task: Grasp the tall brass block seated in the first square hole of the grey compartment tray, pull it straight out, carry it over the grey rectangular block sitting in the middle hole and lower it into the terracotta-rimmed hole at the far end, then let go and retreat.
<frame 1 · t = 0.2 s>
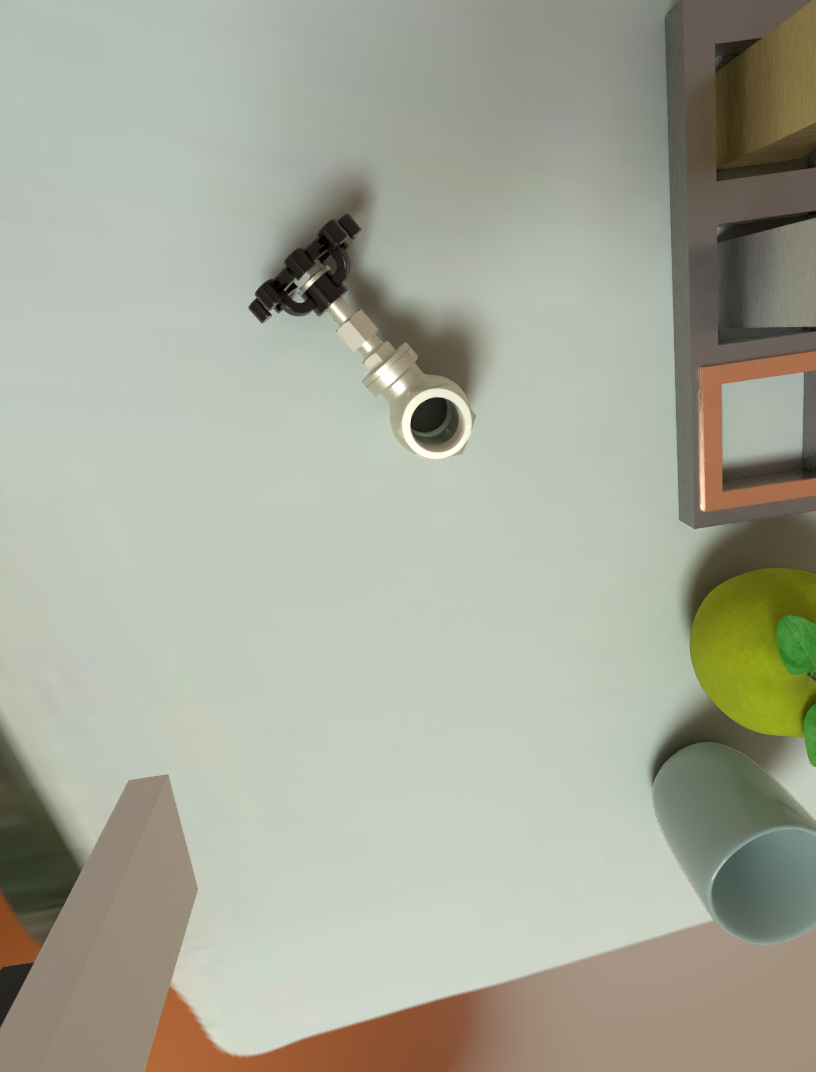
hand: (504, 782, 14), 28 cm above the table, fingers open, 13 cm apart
cup: (692, 773, 48), on the table
valve: (378, 355, 39), on the table
fruit: (735, 617, 45), on the table
grey compartment tray: (753, 281, 39), on the table
grey rectangular block: (802, 274, 34), in the grey compartment tray
brass block: (753, 118, 37), resting in grey compartment tray
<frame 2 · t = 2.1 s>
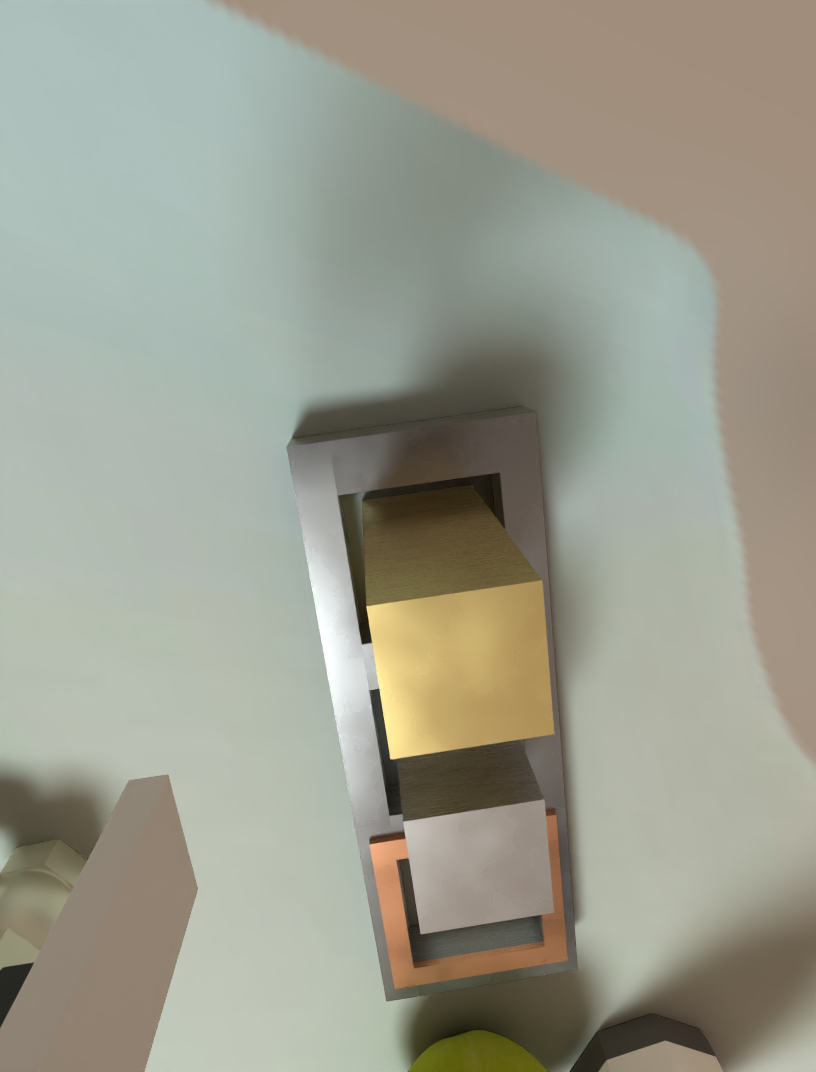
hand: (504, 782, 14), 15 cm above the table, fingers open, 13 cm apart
wine bottle: (639, 1066, 38), on the table
fruit: (469, 1052, 37), on the table
grey compartment tray: (445, 718, 31), on the table
grey rectangular block: (460, 780, 27), in the grey compartment tray
brass block: (423, 545, 29), resting in grey compartment tray
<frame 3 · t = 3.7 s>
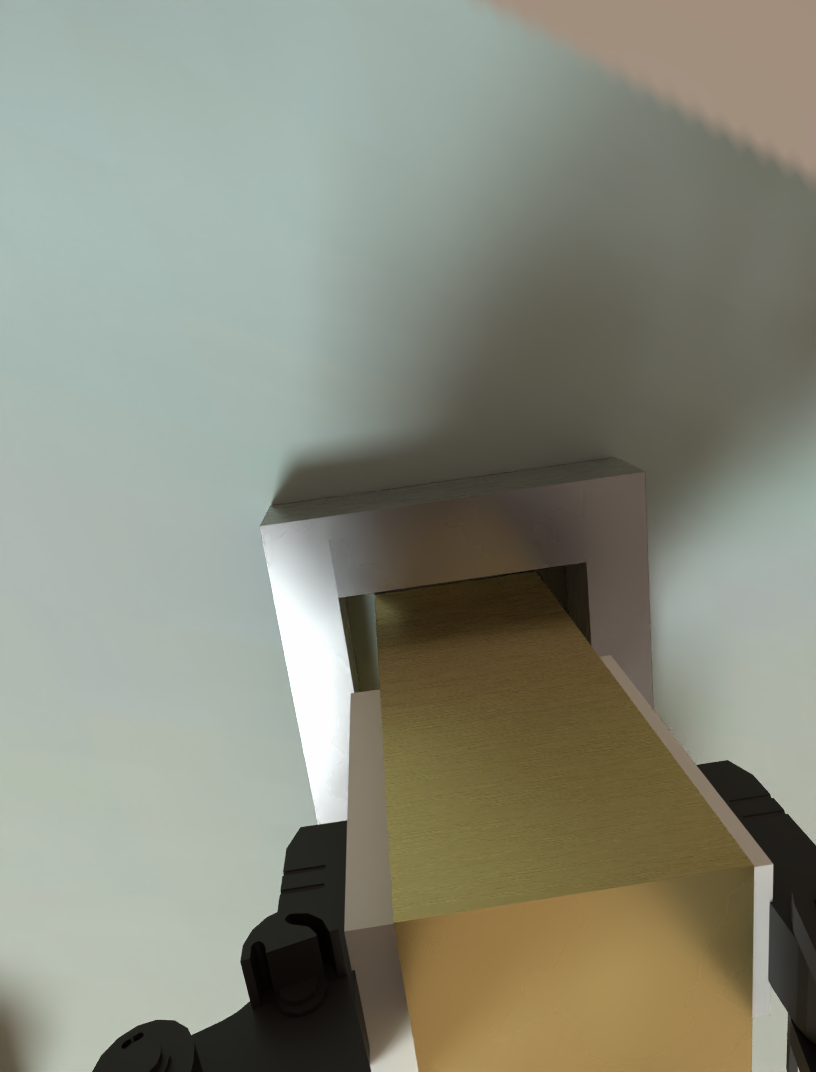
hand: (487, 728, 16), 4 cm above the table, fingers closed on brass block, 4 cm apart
grey compartment tray: (491, 890, 22), on the table
brass block: (464, 656, 20), resting in grey compartment tray, touching gripper
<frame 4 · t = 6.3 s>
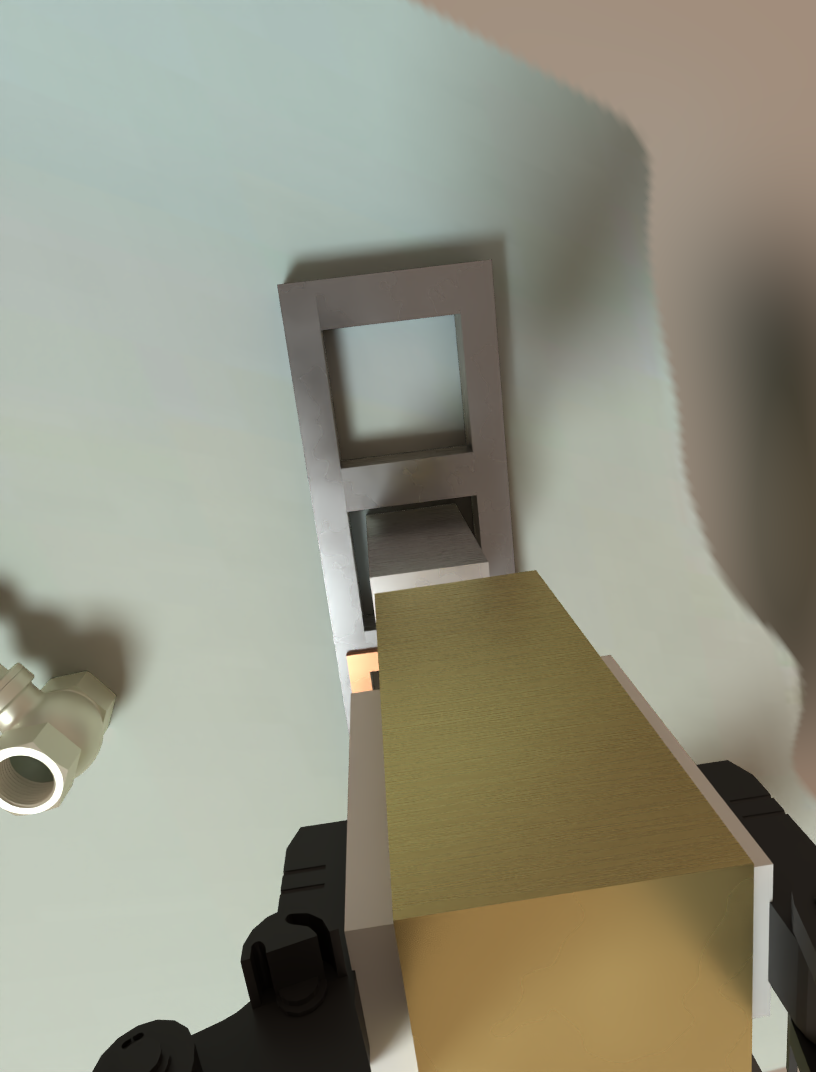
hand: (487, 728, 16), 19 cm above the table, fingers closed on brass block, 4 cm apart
valve: (21, 649, 35), on the table
grey compartment tray: (415, 551, 35), on the table
grey rectangular block: (424, 583, 31), in the grey compartment tray
brass block: (464, 655, 20), point 16 cm above the table, touching gripper
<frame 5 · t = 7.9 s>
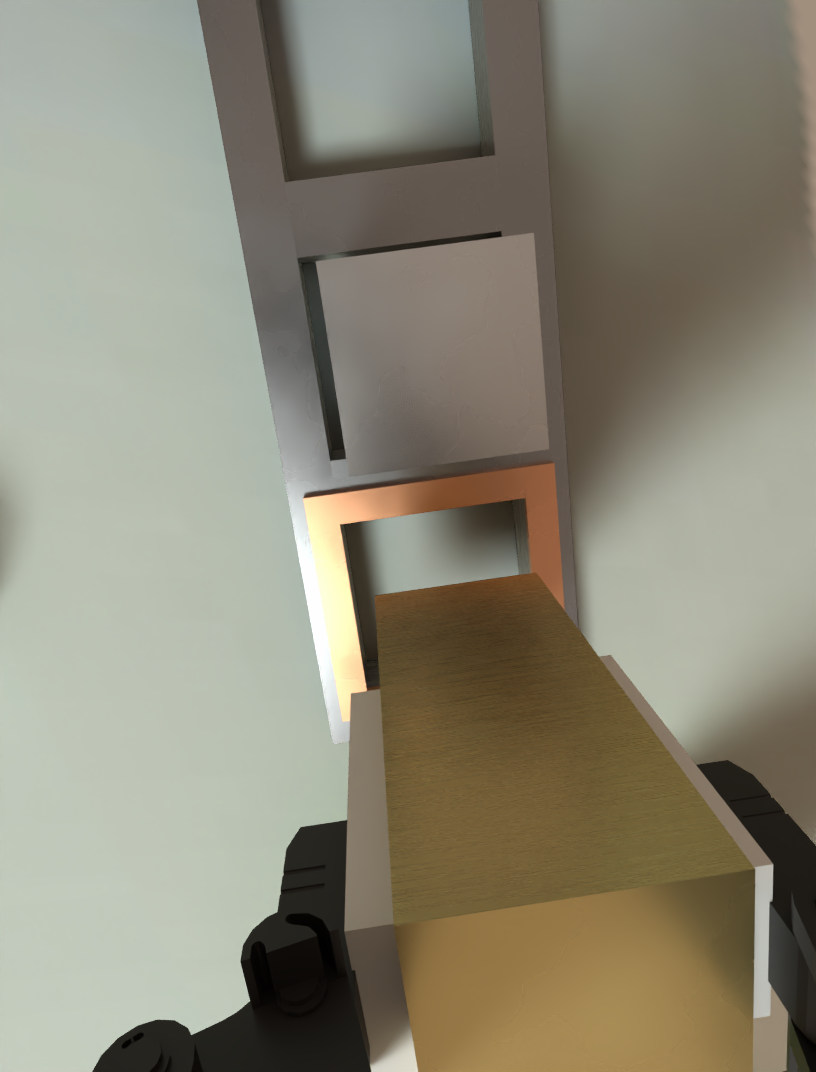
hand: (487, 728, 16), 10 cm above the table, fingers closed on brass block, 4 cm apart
wine bottle: (660, 872, 30), on the table
grey compartment tray: (408, 348, 23), on the table
grey rectangular block: (419, 352, 19), in the grey compartment tray
brass block: (464, 657, 20), point 6 cm above the table, touching gripper
when the fingers open (5 cm above the table, at t = 9.2 s): brass block stays where it is, resting in grey compartment tray.
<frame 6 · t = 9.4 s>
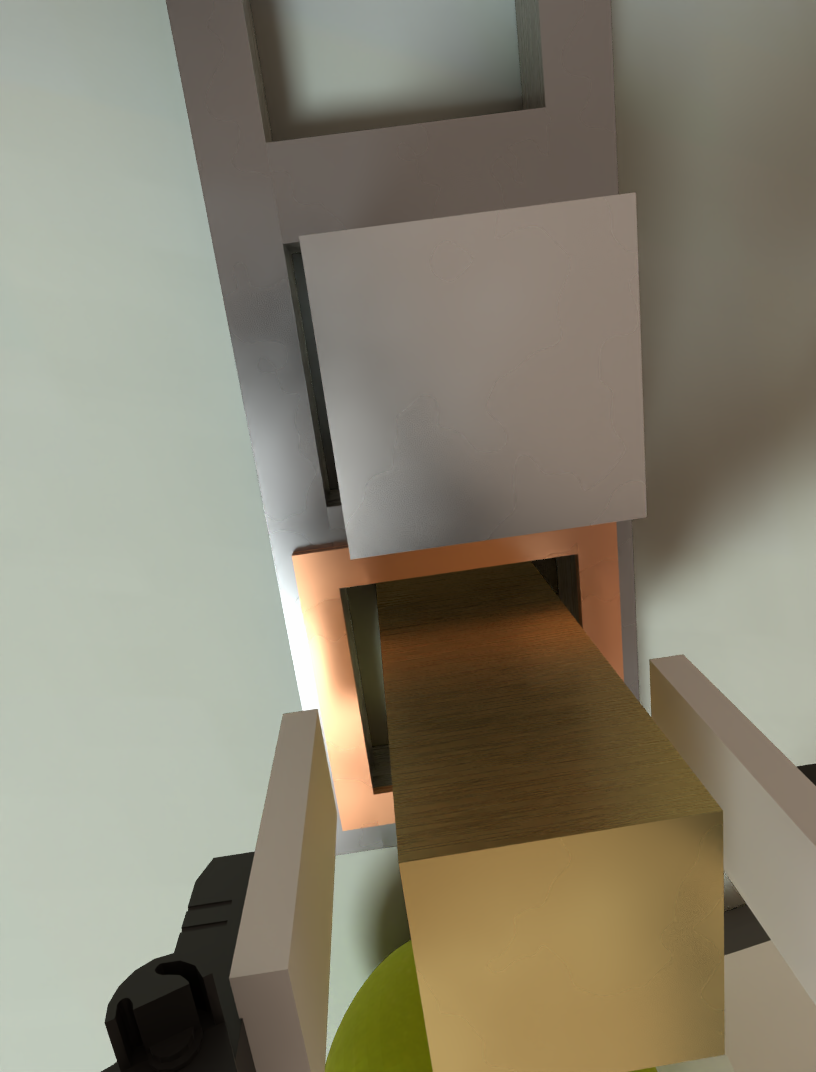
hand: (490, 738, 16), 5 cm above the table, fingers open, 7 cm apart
wine bottle: (725, 989, 25), on the table
fruit: (467, 963, 24), on the table
grey compartment tray: (426, 361, 18), on the table
grey rectangular block: (446, 370, 14), in the grey compartment tray
brass block: (461, 641, 21), resting in grey compartment tray
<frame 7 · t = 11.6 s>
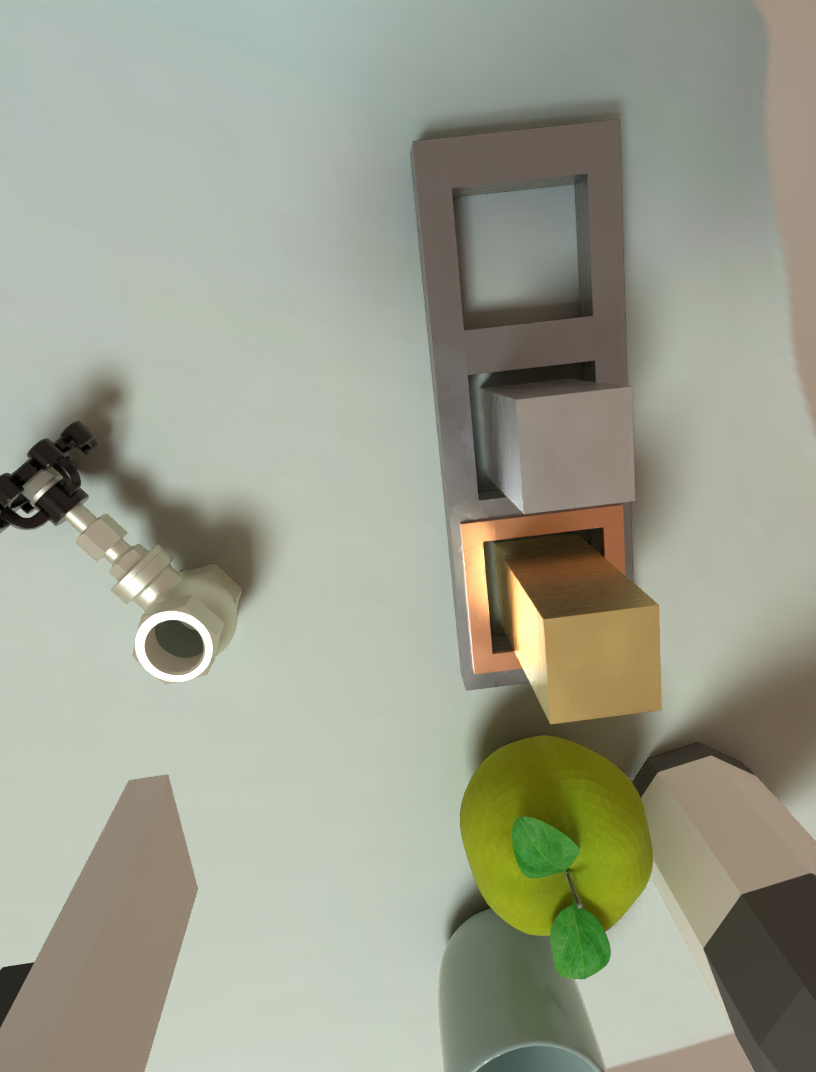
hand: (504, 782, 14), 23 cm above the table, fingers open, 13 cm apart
wine bottle: (684, 799, 42), on the table
cup: (494, 936, 44), on the table
valve: (152, 543, 36), on the table
fruit: (531, 774, 41), on the table
grey compartment tray: (526, 427, 36), on the table
grey rectangular block: (548, 437, 31), in the grey compartment tray
brass block: (537, 577, 38), resting in grey compartment tray
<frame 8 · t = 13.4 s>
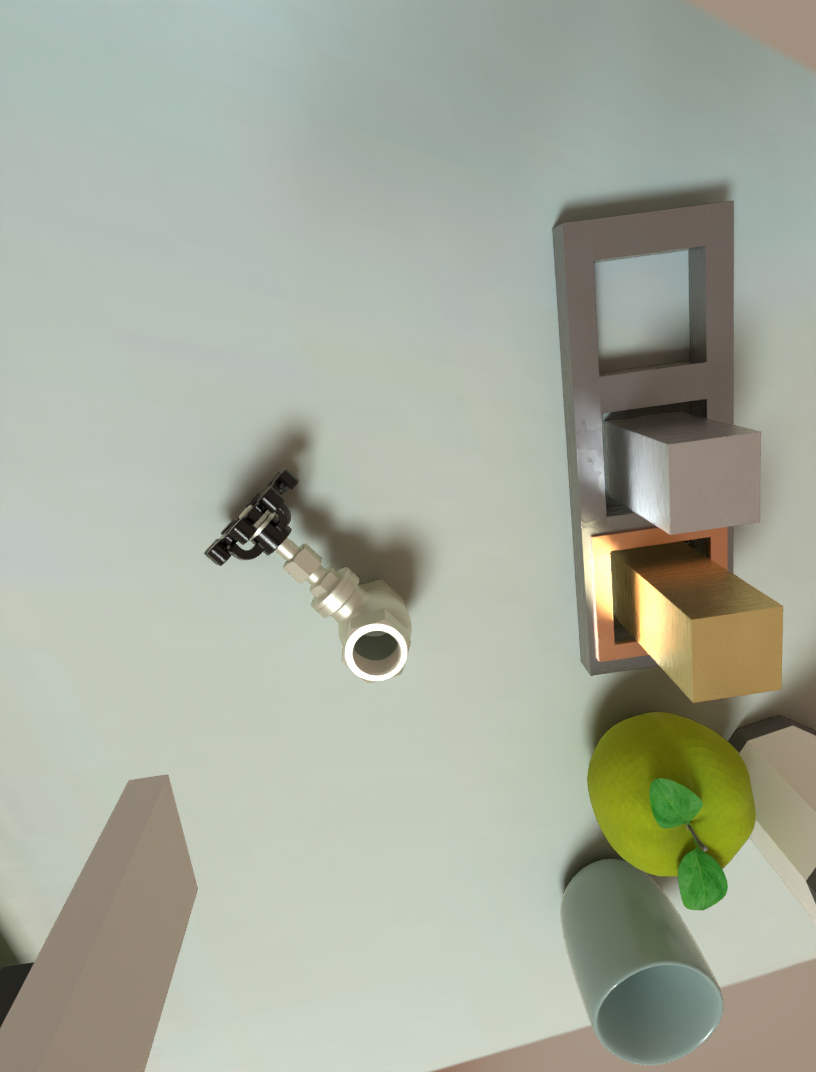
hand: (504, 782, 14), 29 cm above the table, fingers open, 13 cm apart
wine bottle: (766, 763, 49), on the table
cup: (601, 884, 51), on the table
valve: (328, 563, 43), on the table
fruit: (636, 745, 48), on the table
grey compartment tray: (642, 453, 42), on the table
grey rectangular block: (674, 466, 38), in the grey compartment tray
brass block: (647, 578, 44), resting in grey compartment tray
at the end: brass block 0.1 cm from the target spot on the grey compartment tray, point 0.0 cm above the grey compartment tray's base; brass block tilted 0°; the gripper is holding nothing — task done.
